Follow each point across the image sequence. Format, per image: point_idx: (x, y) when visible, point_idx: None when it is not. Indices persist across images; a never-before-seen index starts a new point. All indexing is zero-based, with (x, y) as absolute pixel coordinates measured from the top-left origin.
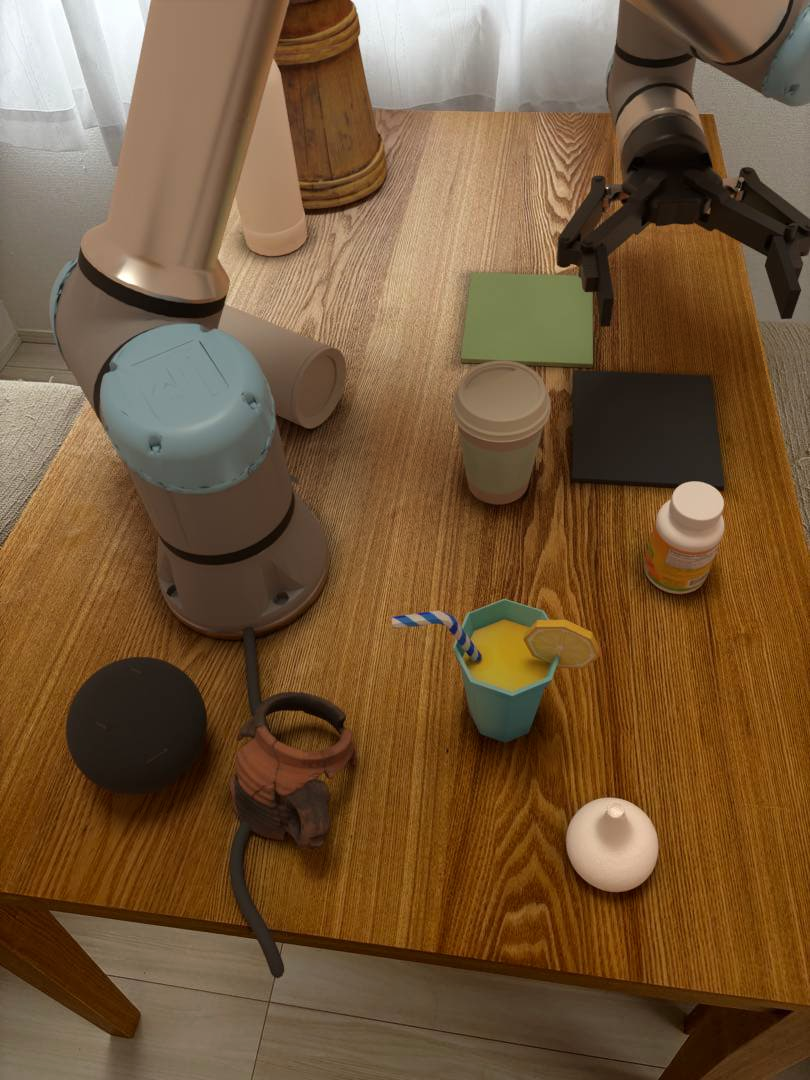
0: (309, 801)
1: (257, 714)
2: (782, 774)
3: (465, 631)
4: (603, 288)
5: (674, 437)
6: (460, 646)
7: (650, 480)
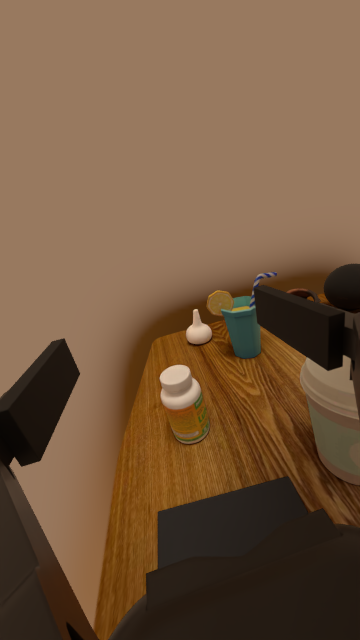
0: None
1: (313, 292)
2: (149, 369)
3: None
4: (272, 288)
5: None
6: None
7: (221, 496)
